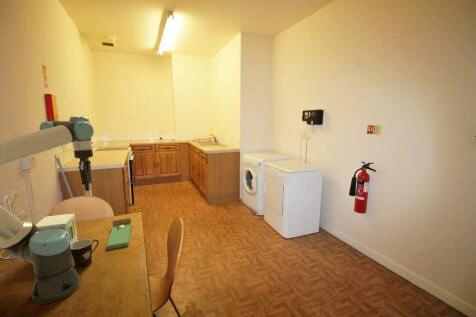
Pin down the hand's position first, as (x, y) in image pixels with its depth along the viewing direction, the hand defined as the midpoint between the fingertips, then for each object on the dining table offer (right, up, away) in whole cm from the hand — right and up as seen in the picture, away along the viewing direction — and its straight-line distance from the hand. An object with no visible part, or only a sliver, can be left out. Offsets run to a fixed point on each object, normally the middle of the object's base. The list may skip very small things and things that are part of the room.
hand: (88, 196), depth 117 cm
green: (+7, -26, +18) cm, 32 cm away
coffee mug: (+3, -30, -6) cm, 31 cm away
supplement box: (-16, -29, +2) cm, 33 cm away
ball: (+5, -23, +24) cm, 33 cm away
